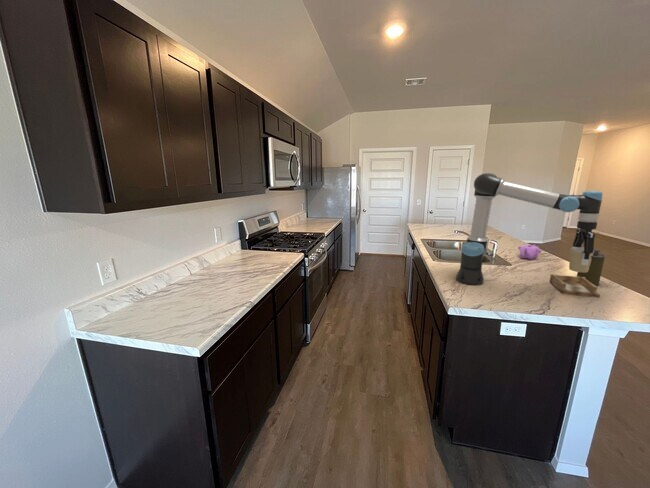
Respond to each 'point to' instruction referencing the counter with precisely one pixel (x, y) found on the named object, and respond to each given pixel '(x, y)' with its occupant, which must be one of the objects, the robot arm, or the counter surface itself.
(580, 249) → the coffee cup
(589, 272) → the canister
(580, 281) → the dock
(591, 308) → the counter surface
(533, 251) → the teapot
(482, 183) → the robot arm
